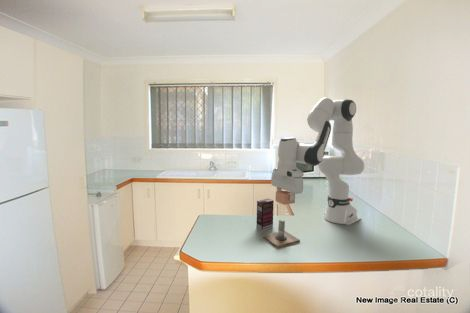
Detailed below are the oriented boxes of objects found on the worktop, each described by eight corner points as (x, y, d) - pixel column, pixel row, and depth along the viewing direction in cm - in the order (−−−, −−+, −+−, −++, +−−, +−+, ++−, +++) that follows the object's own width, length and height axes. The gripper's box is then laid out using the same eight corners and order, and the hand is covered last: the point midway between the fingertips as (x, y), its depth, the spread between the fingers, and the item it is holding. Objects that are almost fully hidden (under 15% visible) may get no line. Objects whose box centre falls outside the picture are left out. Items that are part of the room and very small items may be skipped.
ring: (285, 199, 137) (286, 189, 136) (294, 203, 131) (295, 193, 131) (275, 201, 134) (275, 191, 133) (284, 204, 128) (284, 194, 127)
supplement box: (267, 224, 155) (268, 198, 152) (273, 227, 151) (274, 200, 149) (255, 228, 150) (256, 200, 147) (261, 231, 146) (262, 203, 144)
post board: (284, 232, 145) (285, 214, 143) (299, 242, 134) (300, 222, 133) (262, 238, 138) (263, 219, 136) (277, 248, 128) (277, 227, 126)
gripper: (268, 167, 138) (267, 193, 140) (295, 174, 120) (294, 204, 122) (278, 166, 141) (277, 192, 143) (306, 173, 123) (304, 203, 125)
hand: (285, 198), depth 132 cm, fingers closed on ring, 7 cm apart
